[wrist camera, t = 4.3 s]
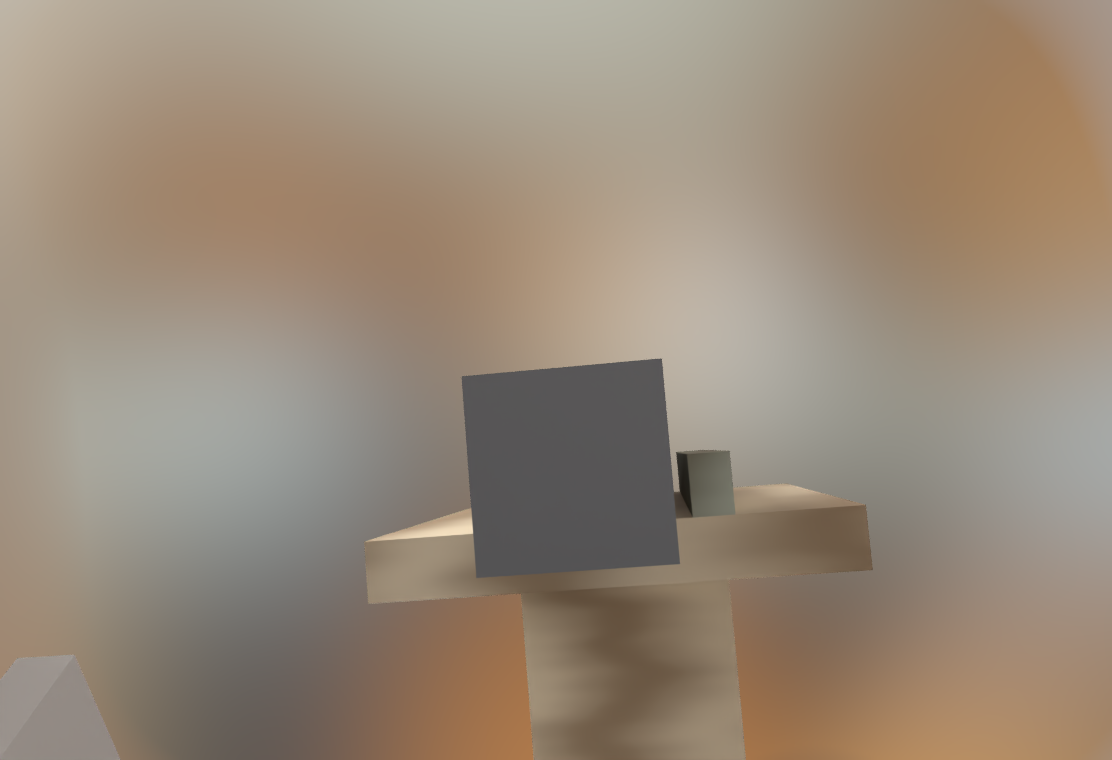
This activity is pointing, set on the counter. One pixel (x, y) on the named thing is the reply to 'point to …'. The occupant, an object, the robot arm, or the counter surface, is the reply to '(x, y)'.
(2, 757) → the robot arm
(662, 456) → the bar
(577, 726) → the stand
